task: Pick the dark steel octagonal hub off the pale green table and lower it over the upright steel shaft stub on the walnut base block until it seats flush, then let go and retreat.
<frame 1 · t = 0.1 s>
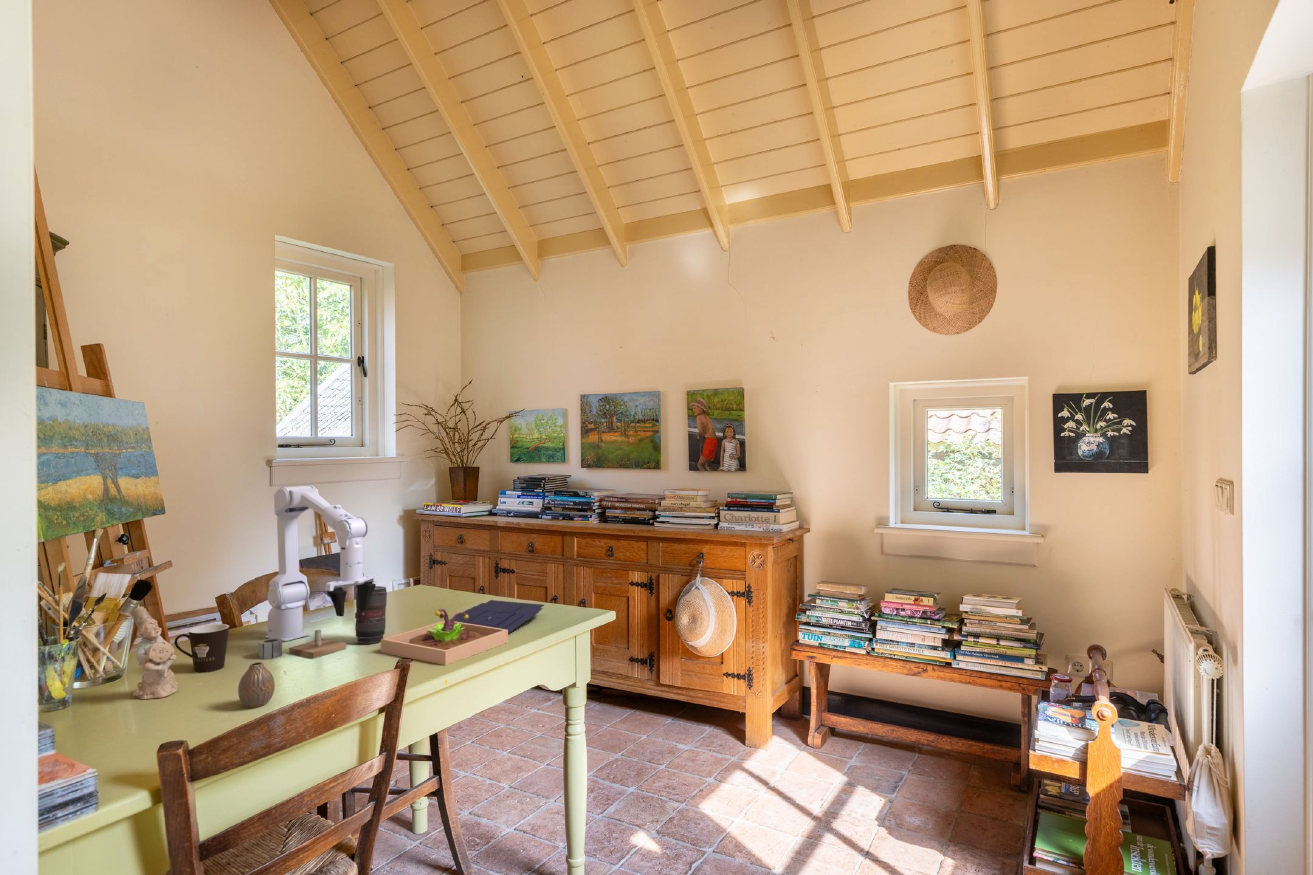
hand: (351, 612, 195), 10 cm above the table, tool pointing down, fingers open, 7 cm apart
vase: (256, 705, 155), on the table
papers: (491, 626, 223), on the table, touching tan flat square tray
hub: (270, 656, 190), on the table
figurine: (156, 695, 162), on the table
tan flat square tray: (446, 647, 198), on the table
coffee mug: (204, 668, 181), on the table
camera lens: (370, 641, 204), on the table, touching gripper
shaft stand: (318, 650, 195), on the table
plant: (446, 649, 198), resting in tan flat square tray
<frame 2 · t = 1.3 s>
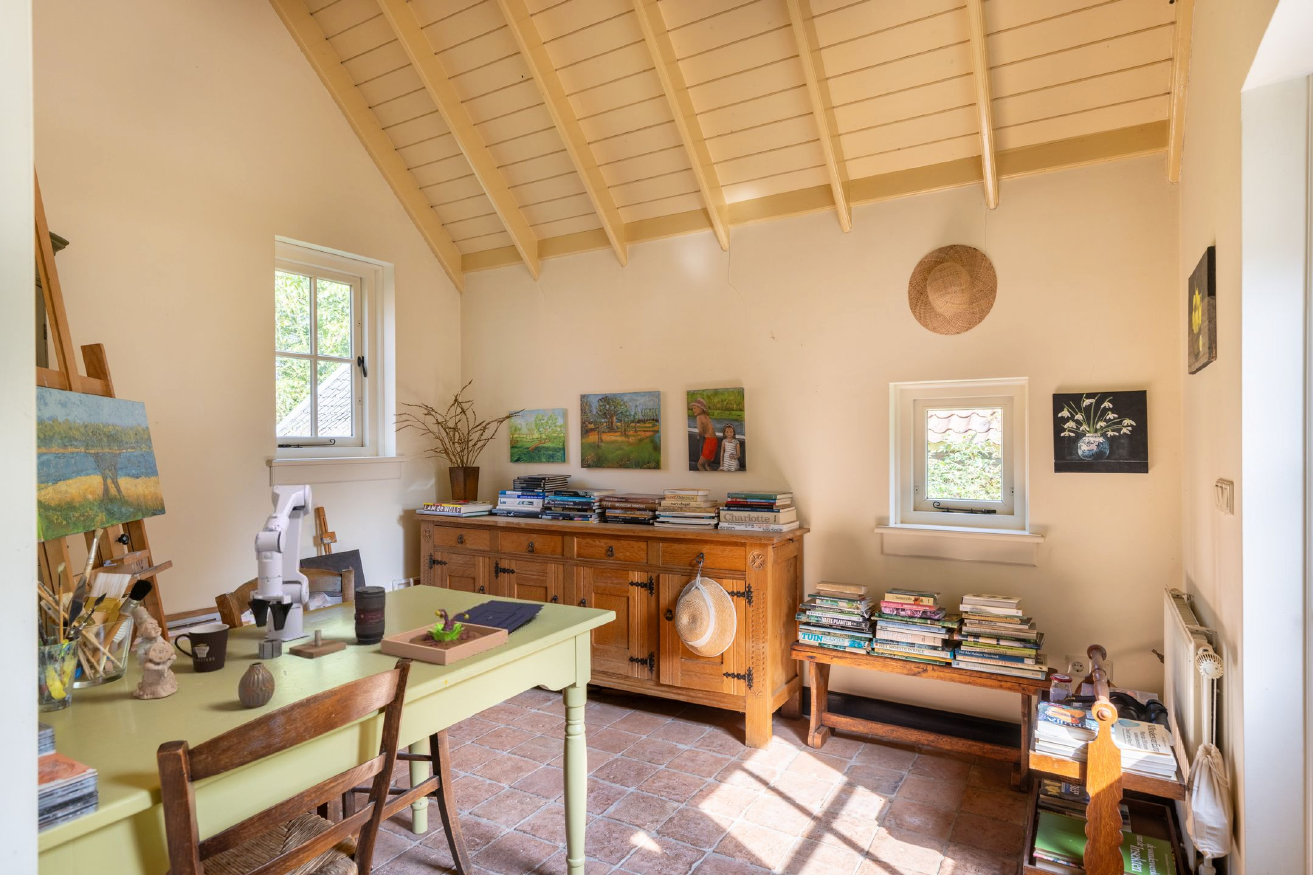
hand: (270, 628, 190), 7 cm above the table, tool pointing down, fingers open, 7 cm apart
camera lens: (370, 642, 204), on the table
everything else where it was.
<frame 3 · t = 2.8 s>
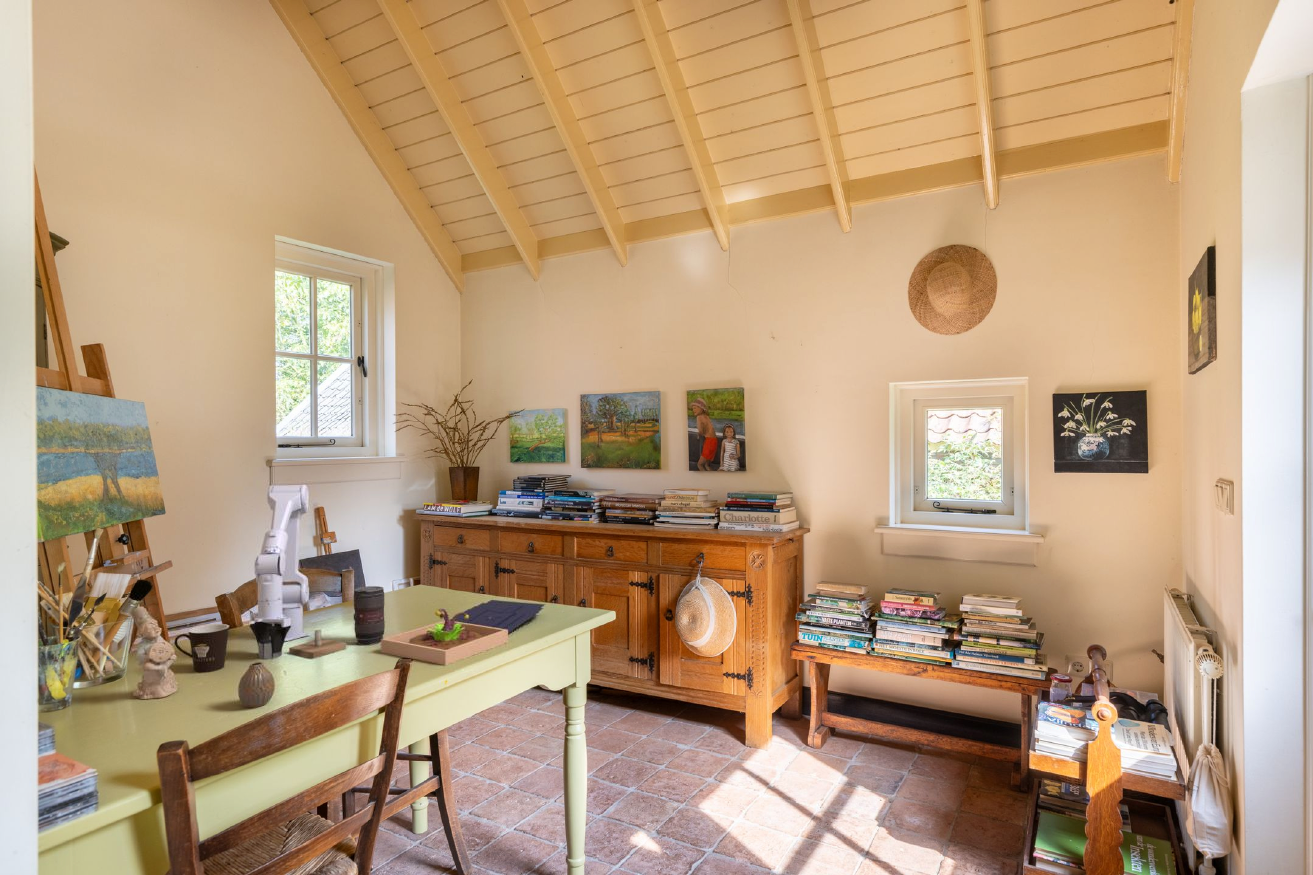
hand: (270, 650, 190), 1 cm above the table, tool pointing down, fingers closed on hub, 5 cm apart
hub: (270, 656, 190), on the table, touching gripper
everything else where it was.
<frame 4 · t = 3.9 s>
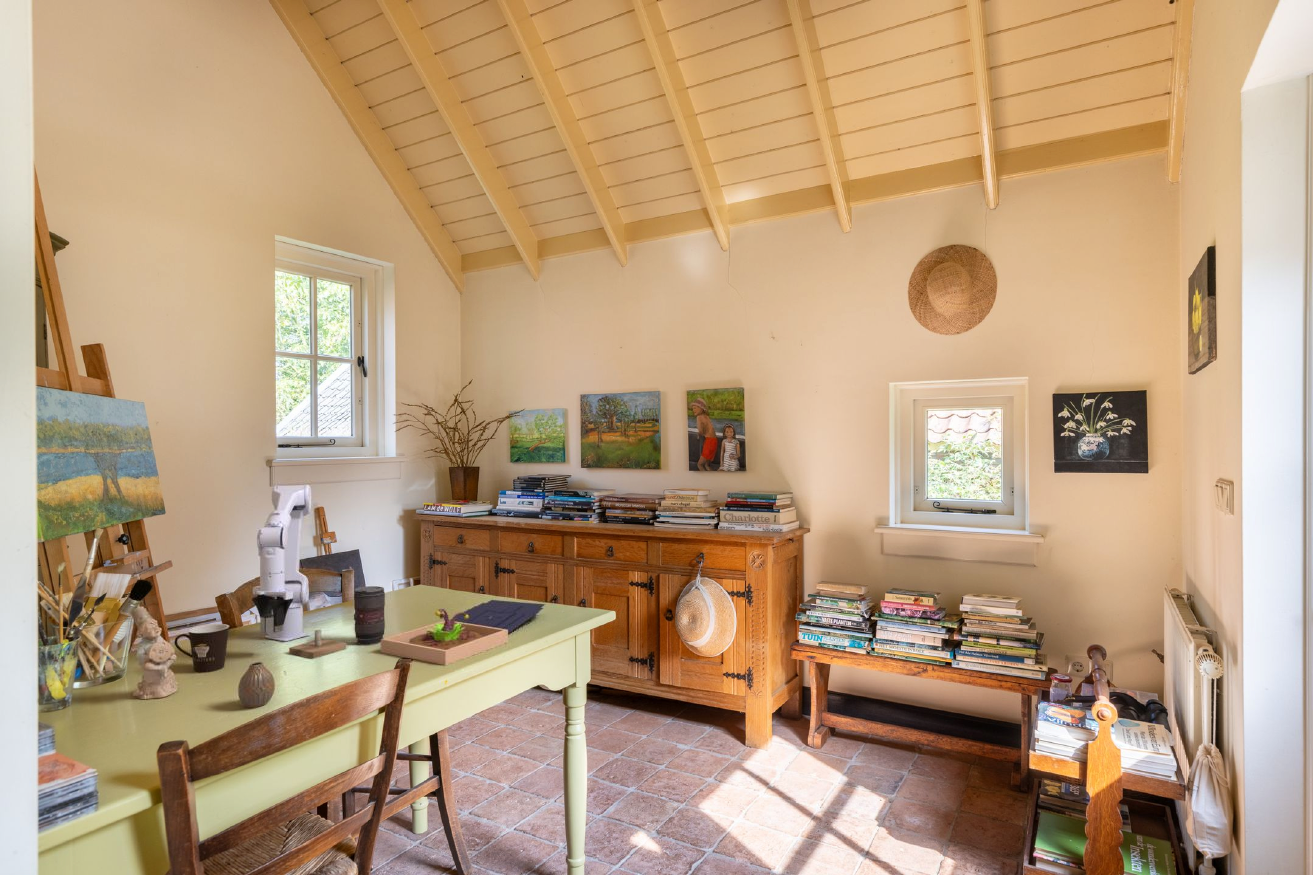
hand: (272, 623, 191), 8 cm above the table, tool pointing down, fingers closed on hub, 5 cm apart
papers: (492, 625, 223), on the table
hub: (272, 630, 191), point 7 cm above the table, touching gripper
everything else where it was.
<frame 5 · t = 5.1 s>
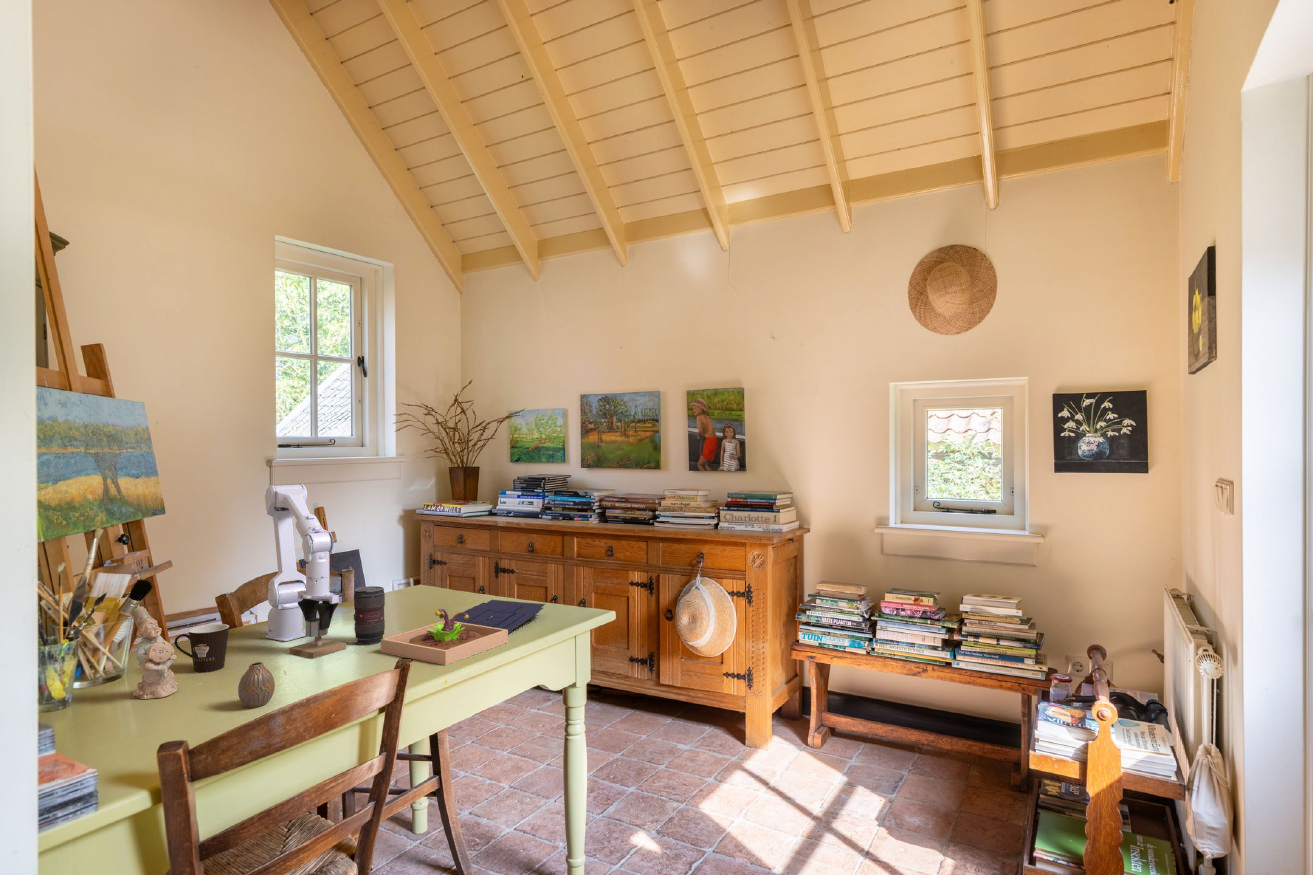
hand: (318, 627, 195), 6 cm above the table, tool pointing down, fingers closed on hub, 5 cm apart
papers: (492, 625, 223), on the table, touching tan flat square tray
hub: (316, 634, 195), point 5 cm above the table, touching gripper
everything else where it was.
when the fingers open (4 cm above the table, at t = 6.6 s): hub stays where it is, resting on shaft stand.
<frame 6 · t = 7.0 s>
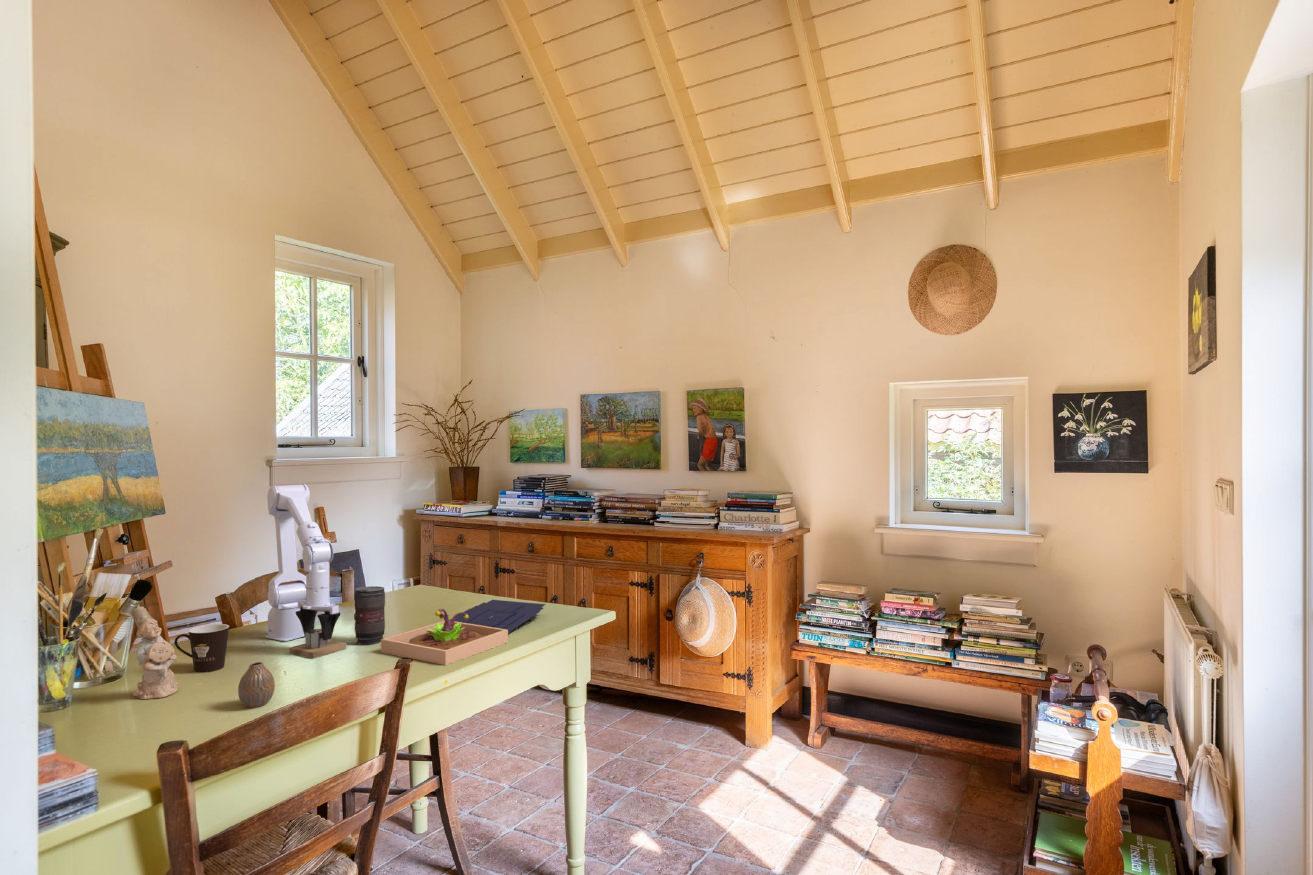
hand: (318, 637, 195), 4 cm above the table, tool pointing down, fingers open, 7 cm apart
hub: (316, 645, 195), point 1 cm above the table, touching shaft stand
everything else where it was.
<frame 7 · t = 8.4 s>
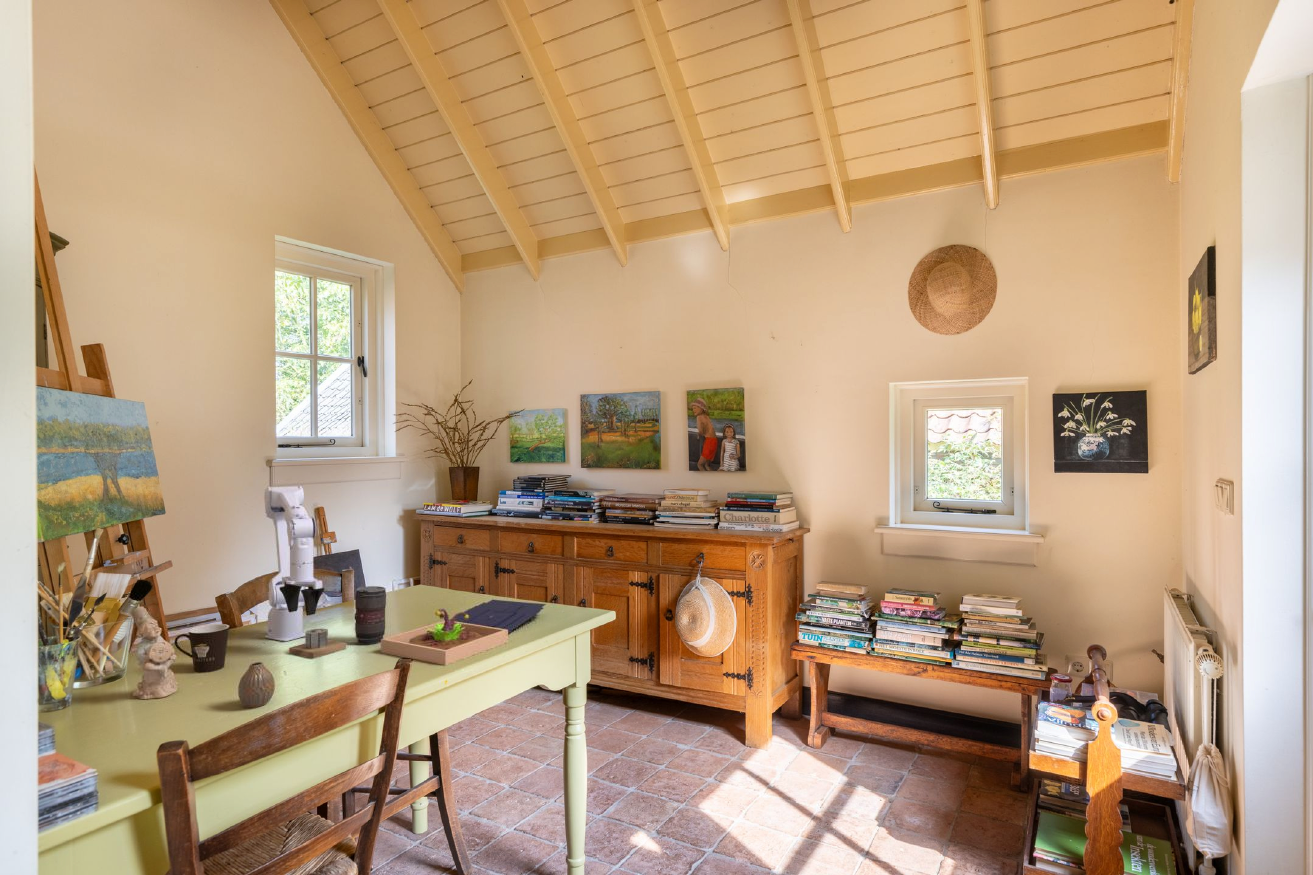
hand: (301, 613, 195), 10 cm above the table, tool pointing down, fingers open, 7 cm apart
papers: (493, 625, 224), on the table
everything else where it was.
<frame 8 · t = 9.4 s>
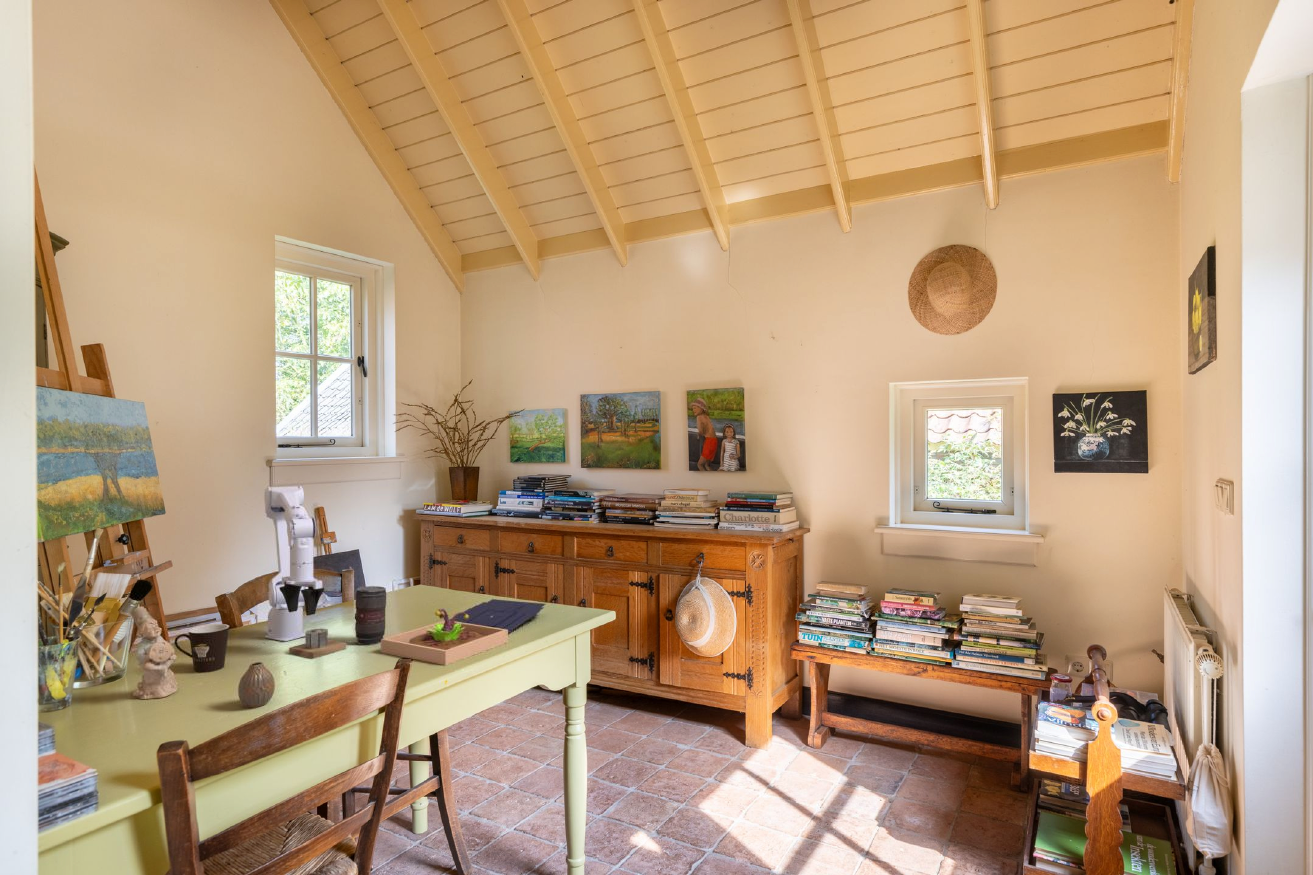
hand: (301, 613, 195), 10 cm above the table, tool pointing down, fingers open, 7 cm apart
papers: (493, 625, 224), on the table, touching tan flat square tray
everything else where it was.
at the end: hub 0.4 cm off-centre on the shaft stand, point 1.5 cm above the shaft stand's base; hub tilted 0°; the gripper is holding nothing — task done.
